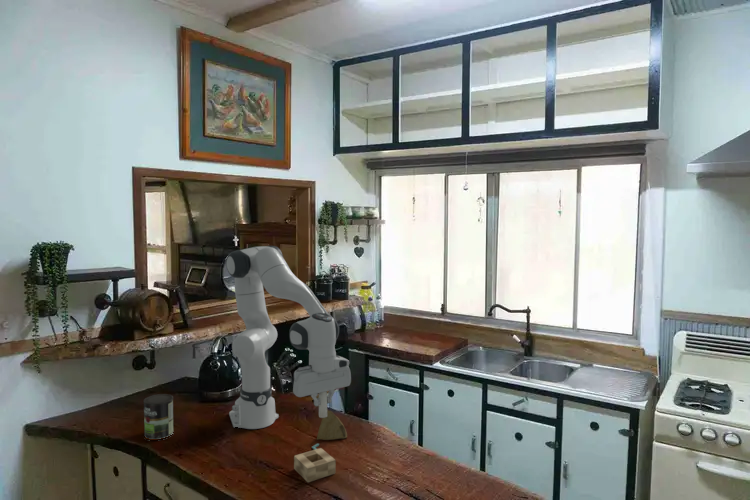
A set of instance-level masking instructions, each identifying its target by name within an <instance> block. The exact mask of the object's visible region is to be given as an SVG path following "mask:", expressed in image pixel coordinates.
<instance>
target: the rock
mask: <svg viewBox="0 0 750 500" xmlns="http://www.w3.org/2000/svg"><path fill="white" fill-rule="evenodd" d="M346 438H348V433H347V429H346V428H345V425H344V424H343V422H342V420H340V418H339V417H338V416H337V415H336V414H334V412H332V410H329V409H327V417H325V418H321V422H320V426H319V428H318V432H317V435H316V440H324V441H329V440H340V439H346Z"/></svg>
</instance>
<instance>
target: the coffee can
mask: <svg viewBox="0 0 750 500" xmlns="http://www.w3.org/2000/svg"><path fill="white" fill-rule="evenodd" d="M143 416H144V417H143V418H144V422H143V423H144V424H143V425H144V429H143V430H144V436H145V437H146V438H149V439H161V438H165V437H168V436H170V435H172V434H173V435H174V433H173V432H174V396H173V395H171V394H170V393H169V394H167V393H158V394H153V395H149V396H147V397H145V398H144V399H143ZM173 435H172V436H173ZM170 437H171V436H170Z"/></svg>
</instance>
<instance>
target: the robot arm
mask: <svg viewBox="0 0 750 500" xmlns="http://www.w3.org/2000/svg"><path fill="white" fill-rule="evenodd" d="M225 266H226V271H227V272H228V274H229V275H230V276H231V277H232V278H234V293H235V301H236V302H235V304H236V310H237V314H238V316H239V317H240V318H241V319H242V321H243V323H244V325H245V330H243V331H241V332H240V333H239V334H238V335H237V336H235V338H234V339H233V340H232V343H231V349H232V353H233V354H234V356H235V357H236V358H237V359H238V362H239V364H240V369H241V388H240V393H239V394H240V395H239V397H238V398H237V399H236V400H235V401H234V405H232V406H231V409H232V410H231V411H229V413H228V415H229V418H230V421H231V424H232V427H233V428H235V427H238V428H237V429H239V428H240V429H241V428H242V429H247V430H257V429H263V428H267V427H270V426H271V425H272V424H274V423H275V421H276V420H277V419H279V417H280V416H279V413H277V412H276V402H275V398H274V397H273V396H272V391H273V390H272V386H271V367H270V365H269V364H267V360H266V356H265V355H266V354H265V353H266V351H268V349H270V348H271V347H273V345H274V344H275V342H276V341H277V340H278V339H277V338H278V331H277V330H278V329H277V328H276V327H275V325H273V324H272V321H271V319H270V316H269V314H268V309H267V305H266V299H265V298H266V297H265V291H266V292H267V293H268V294H269V295H271V296H272V297H274V298H278V299H283V300H284V299H285V300H289V301H292V302H295V303H298V304H300V305H301V306H302V307H303V309H304V310H305V312H307V314H308V316H309V317H308V318H306V319H303V320H299V321H297V322H293V324H292V325H291V326H290V329H289V330H288V331H289V333H288V338H289V343H290V344H291V346H293V348H295V349H297V350H308V351H309V354H308V365H306V366H303V367H301V366H300V367H297V369H296V370H295V371H294V372H293V386H292V387H293V388H292V392H293V395H295V396H296V397H298V398H302V397H307V396H310V397H311V398H312V400H313V405H314V406H315V407H319V405H320V400H319V398H317V397H319V393H321V392H325V391H327V404H331V403H332V398H333V396H334V395H335V390H338V389H342V388H345V387H349V386H350V385H351V383H352V374H351V369H350V367H349V366H350V360H348V359H347V358H345V357H343V356H340V355H337V352H336V348H335V347H336V346H335V345H336V343H337V339H338V337H339V334H340V325H339V323H338V321H337V320H336V319H335V318H334V317H333V315H331V314H330V313H329V312H328V311H327V310H326V308H325V307H324V306H323V304H322V303H321V301H320V300H319V299H318V297H317V296H316V295H315V294H314V292H313V291H312V289H311V288H310V287H309V286H308V285H307V284H306V283H305V282H303V281H302V280H300V279H299V278H298V277H297V275H295V274H294V273H293V272H292V270H291V269H290V266H289V264H288V263H287V262H286V260H285V258H284V255H283V253H282V250H281V249H280V248H279V247H278V246H276V245H267V246H265V245H264V246H263V245H262V246H253V247H249V248H244V249H240V250H239V249H237V250H234V251H231V252H229V253H228V255H227V257H226V259H225ZM264 289H265V291H264Z"/></svg>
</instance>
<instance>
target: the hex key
mask: <svg viewBox="0 0 750 500" xmlns="http://www.w3.org/2000/svg"><path fill="white" fill-rule="evenodd" d="M319 446H320V443H315V444H314V445H313V446H311V449H312V450H315V449H318V448H317V447H319Z"/></svg>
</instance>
